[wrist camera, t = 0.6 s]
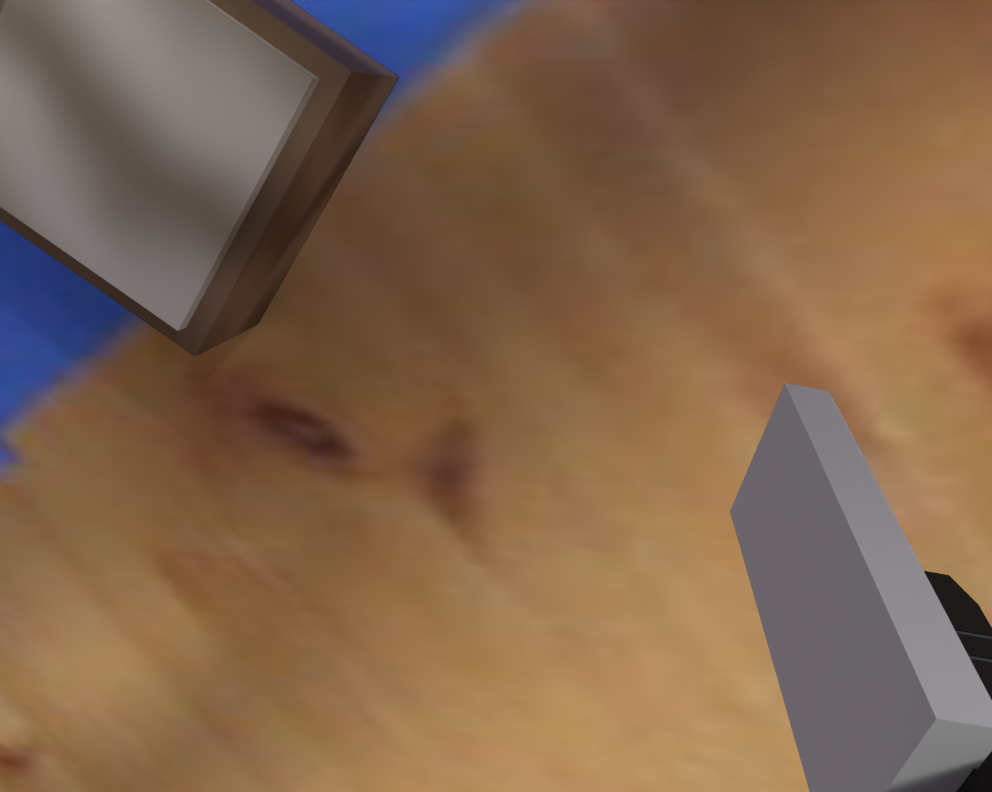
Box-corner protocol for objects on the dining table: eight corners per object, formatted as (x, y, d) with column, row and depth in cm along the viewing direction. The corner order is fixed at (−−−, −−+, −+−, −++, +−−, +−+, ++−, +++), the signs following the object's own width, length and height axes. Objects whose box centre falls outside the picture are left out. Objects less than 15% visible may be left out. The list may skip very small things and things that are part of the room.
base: (140, -106, 34) (36, -149, 29) (398, 77, 35) (345, 70, 29) (26, 162, 39) (-84, 171, 33) (257, 324, 39) (186, 360, 33)
